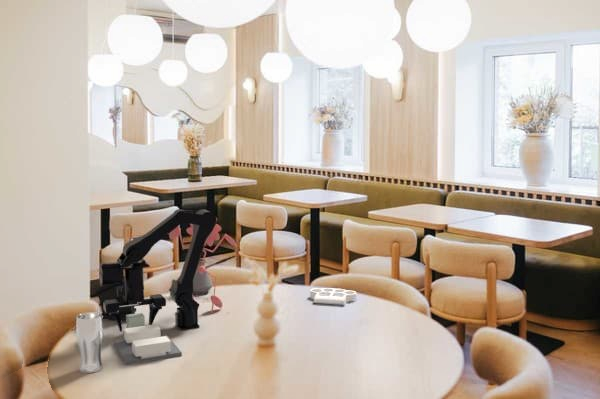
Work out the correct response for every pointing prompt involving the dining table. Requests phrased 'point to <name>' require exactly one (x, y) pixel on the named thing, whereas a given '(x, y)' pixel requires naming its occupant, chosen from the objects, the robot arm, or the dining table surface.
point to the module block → (135, 320)
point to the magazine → (109, 294)
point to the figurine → (209, 241)
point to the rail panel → (130, 354)
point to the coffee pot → (204, 278)
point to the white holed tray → (332, 296)
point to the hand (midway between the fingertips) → (135, 329)
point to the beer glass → (90, 341)
